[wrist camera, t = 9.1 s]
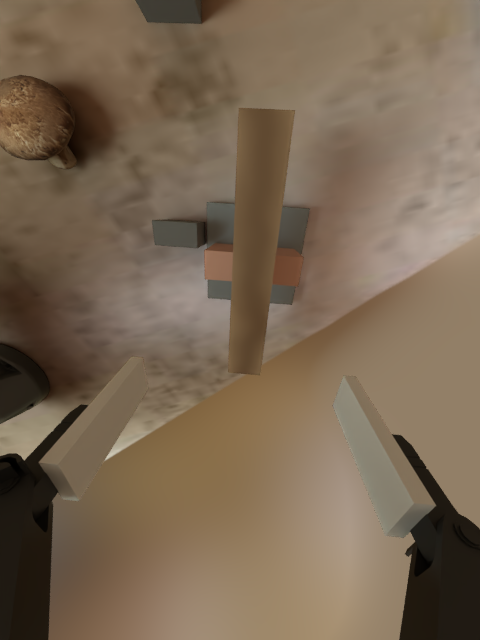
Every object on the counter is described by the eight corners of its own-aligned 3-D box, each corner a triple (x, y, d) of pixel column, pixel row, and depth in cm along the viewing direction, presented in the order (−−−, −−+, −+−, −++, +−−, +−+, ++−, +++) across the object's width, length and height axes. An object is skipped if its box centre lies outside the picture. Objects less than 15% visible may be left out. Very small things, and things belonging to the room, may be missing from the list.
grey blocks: (168, 241, 28) (154, 245, 24) (143, -25, 18) (115, -84, 14) (205, 243, 28) (197, 248, 24) (200, -24, 18) (186, -84, 14)
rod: (231, 353, 27) (228, 372, 23) (242, 128, 17) (238, 107, 13) (259, 355, 26) (260, 375, 23) (287, 130, 16) (294, 110, 13)
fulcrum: (209, 295, 31) (197, 315, 25) (208, 202, 25) (192, 198, 19) (290, 302, 30) (299, 324, 24) (307, 208, 25) (324, 206, 19)
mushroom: (73, 196, 23) (0, 139, 17) (31, 174, 25) (-47, 117, 19) (111, 137, 24) (53, 62, 18) (67, 121, 26) (2, 49, 20)
